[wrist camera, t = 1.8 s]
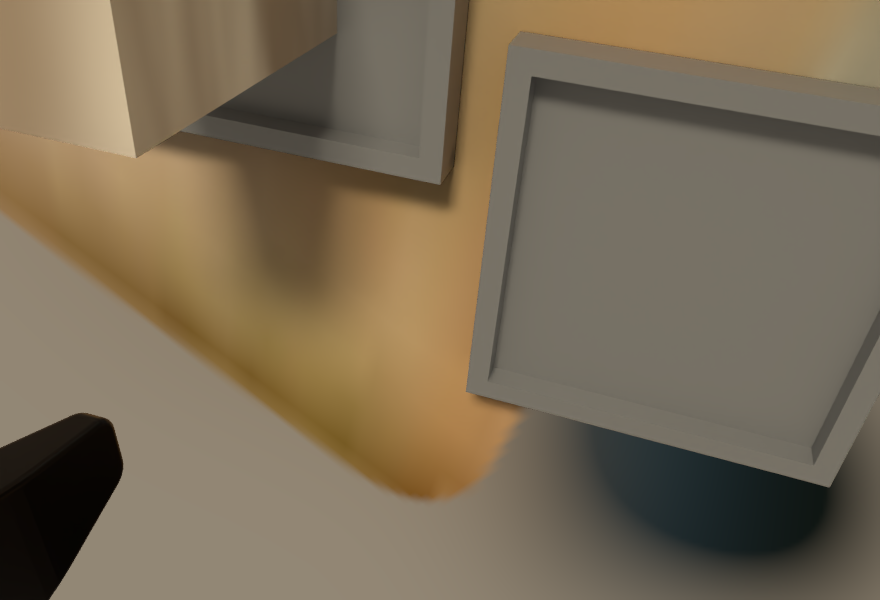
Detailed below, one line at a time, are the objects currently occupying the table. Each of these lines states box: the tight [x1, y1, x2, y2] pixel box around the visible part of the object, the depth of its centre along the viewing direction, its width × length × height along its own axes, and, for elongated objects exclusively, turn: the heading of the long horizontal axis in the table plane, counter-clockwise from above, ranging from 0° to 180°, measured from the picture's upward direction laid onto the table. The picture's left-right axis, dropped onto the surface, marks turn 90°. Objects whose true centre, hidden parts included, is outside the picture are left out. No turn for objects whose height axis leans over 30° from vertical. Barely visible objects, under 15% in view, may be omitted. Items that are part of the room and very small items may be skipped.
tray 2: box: [466, 31, 880, 487], centre depth 19 cm, size 10×10×1 cm
